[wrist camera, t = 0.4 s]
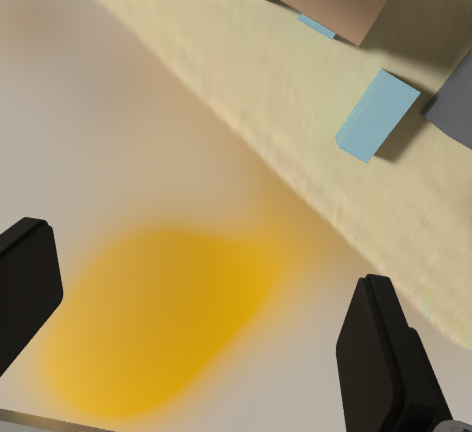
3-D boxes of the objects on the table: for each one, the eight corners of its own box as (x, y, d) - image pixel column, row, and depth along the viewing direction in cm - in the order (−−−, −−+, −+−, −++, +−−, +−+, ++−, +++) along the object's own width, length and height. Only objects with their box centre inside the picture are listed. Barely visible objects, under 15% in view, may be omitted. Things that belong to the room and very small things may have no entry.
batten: (380, 68, 32) (389, 74, 29) (408, 84, 32) (420, 92, 29) (334, 135, 36) (338, 147, 32) (360, 149, 36) (366, 163, 33)
